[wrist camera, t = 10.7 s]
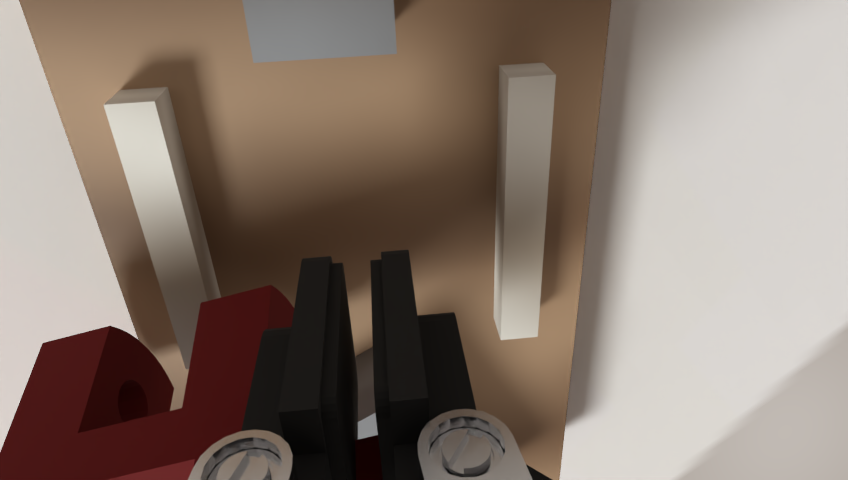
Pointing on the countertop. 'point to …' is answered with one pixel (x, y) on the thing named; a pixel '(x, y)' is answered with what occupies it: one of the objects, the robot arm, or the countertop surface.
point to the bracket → (145, 400)
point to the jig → (345, 168)
